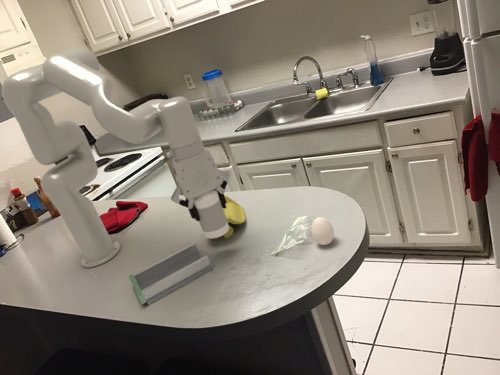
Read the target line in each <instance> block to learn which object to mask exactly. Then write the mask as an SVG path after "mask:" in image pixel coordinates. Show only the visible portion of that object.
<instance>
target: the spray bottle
mask: <svg viewBox="0 0 500 375" xmlns="http://www.w3.org/2000/svg"><path fill="white" fill-rule="evenodd" d="M193 205H194V206H195V207H196V210H197V212H198V215H199V218H200V221H198V223H199V225H200V228H201V230H202V233H203V235H204V237H205V238H206V239H211V240H212V239H217V238H221V237H223V235H224V234H225V233H226V232H227V231H228V230H229V225H230V224H229V223H228V222H227V219H226V216H225V213H224V211H223V208H222V205H221V202H220V199H219V196H218V193H217V190H216V189H214V190H212V191H209V192H207V193H205V194H203V195H201V196H198V197H196V198H194V202H193ZM228 224H229V225H228Z"/></svg>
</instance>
